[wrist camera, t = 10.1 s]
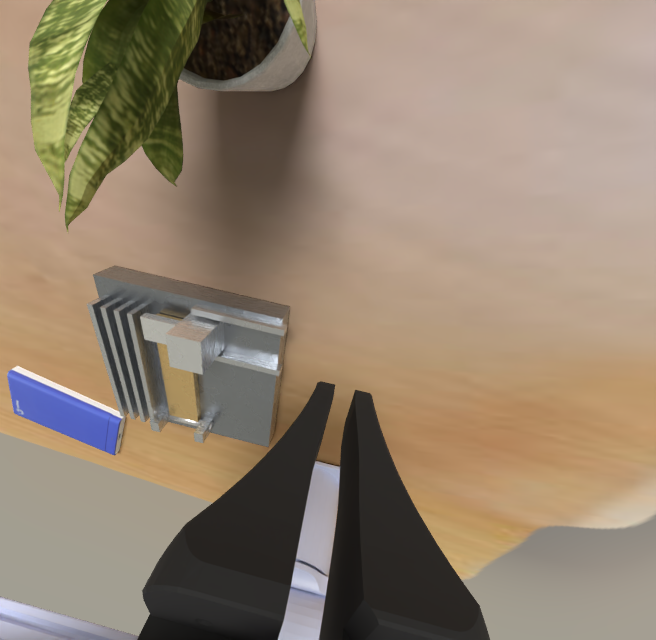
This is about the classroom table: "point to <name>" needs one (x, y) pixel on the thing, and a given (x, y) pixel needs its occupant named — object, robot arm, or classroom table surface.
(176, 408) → the tan rectangular plate
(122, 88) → the house plant
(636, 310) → the classroom table surface
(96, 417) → the hard drive
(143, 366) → the grey slotted fixture base
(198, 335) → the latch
